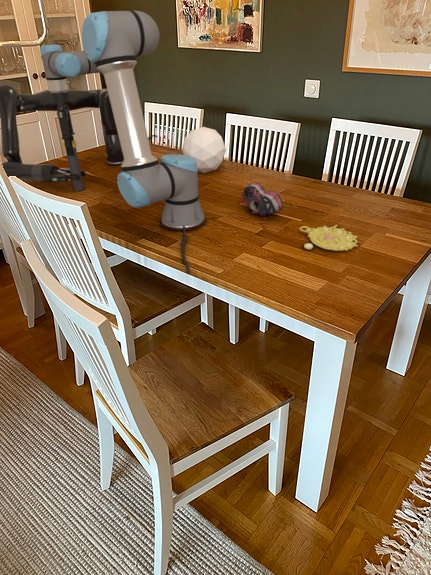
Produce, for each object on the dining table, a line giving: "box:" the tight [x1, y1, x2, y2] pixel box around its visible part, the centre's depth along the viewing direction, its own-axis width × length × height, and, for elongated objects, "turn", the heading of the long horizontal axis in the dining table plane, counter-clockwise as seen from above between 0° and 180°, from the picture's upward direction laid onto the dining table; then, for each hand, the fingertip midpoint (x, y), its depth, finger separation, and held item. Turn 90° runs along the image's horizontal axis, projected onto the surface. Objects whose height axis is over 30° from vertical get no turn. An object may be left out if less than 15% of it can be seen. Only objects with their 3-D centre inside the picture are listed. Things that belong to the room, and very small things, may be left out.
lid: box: [63, 140, 77, 149], centre depth 177 cm, size 5×5×2 cm
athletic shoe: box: [238, 182, 284, 217], centre depth 160 cm, size 11×22×12 cm
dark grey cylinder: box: [65, 147, 85, 192], centre depth 182 cm, size 4×4×19 cm
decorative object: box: [299, 224, 359, 252], centre depth 141 cm, size 21×2×20 cm
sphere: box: [181, 126, 227, 174], centre depth 199 cm, size 19×20×20 cm
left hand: (82, 175), depth 184 cm, fingers closed on dark grey cylinder, 4 cm apart
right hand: (71, 153), depth 179 cm, fingers closed on lid, 5 cm apart
